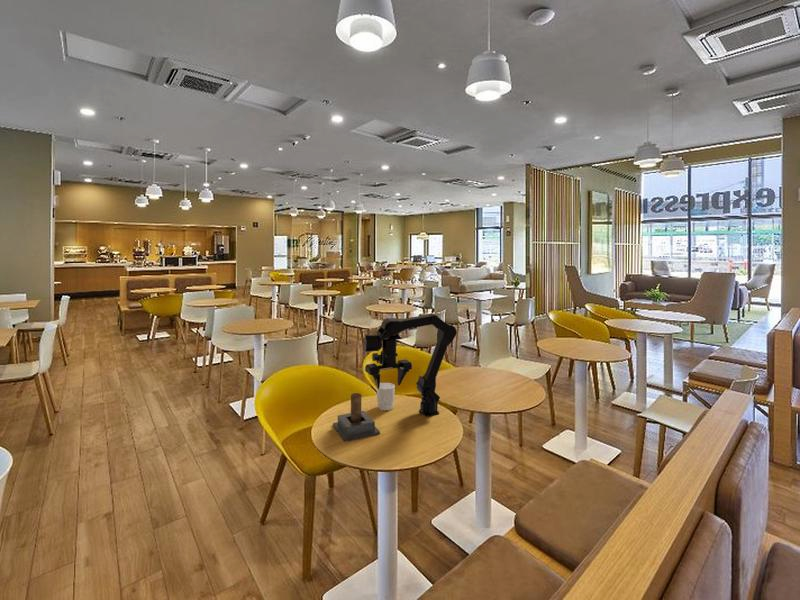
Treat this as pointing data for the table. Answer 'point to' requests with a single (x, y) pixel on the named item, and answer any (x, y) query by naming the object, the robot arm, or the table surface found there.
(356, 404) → the peg
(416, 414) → the table surface
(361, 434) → the socket
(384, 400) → the white cup
